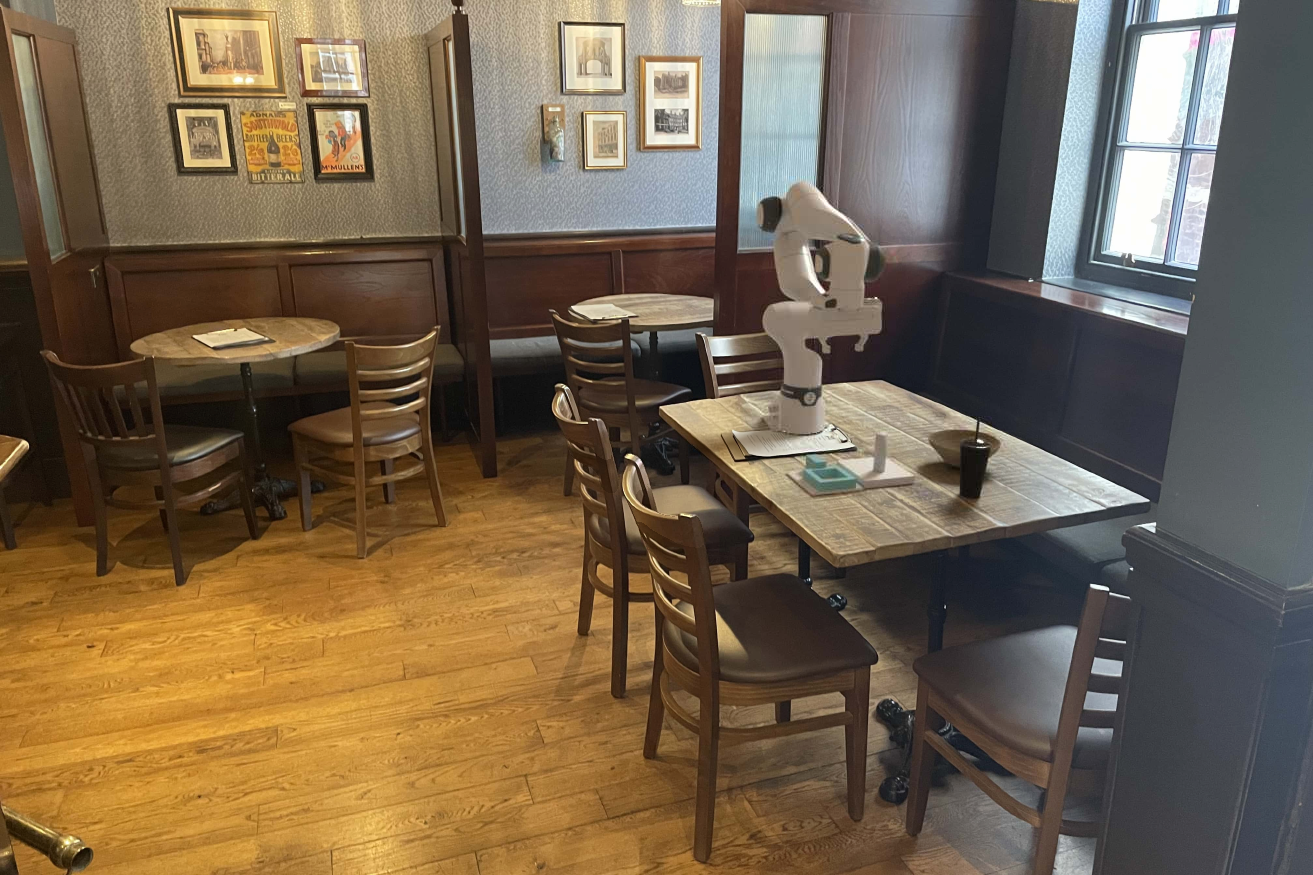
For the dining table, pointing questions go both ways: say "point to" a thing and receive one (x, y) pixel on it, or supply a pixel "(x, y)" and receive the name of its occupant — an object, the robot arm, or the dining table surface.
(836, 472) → the teal square ring handle
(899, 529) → the dining table surface
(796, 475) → the mat
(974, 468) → the drinking cup
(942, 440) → the bowl
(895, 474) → the post stand
